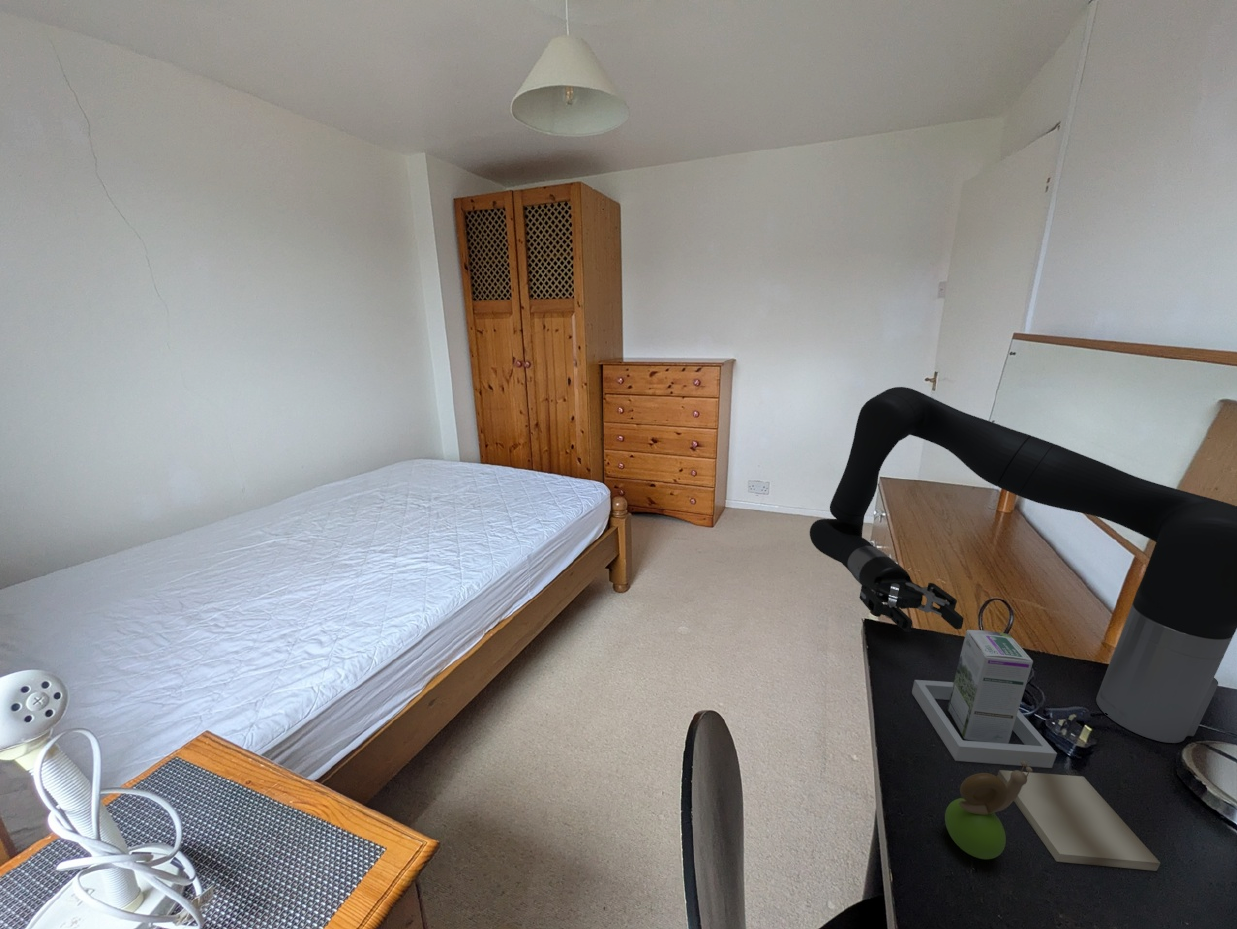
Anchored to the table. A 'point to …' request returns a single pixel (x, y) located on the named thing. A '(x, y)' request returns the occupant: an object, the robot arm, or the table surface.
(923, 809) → the table surface
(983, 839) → the snail figurine
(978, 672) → the syrup box
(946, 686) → the grey square frame
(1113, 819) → the birch pad
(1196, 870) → the table surface
